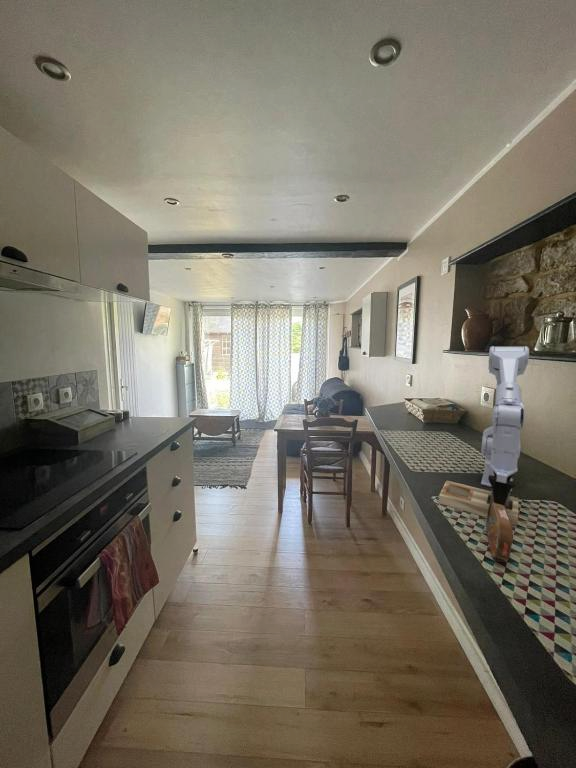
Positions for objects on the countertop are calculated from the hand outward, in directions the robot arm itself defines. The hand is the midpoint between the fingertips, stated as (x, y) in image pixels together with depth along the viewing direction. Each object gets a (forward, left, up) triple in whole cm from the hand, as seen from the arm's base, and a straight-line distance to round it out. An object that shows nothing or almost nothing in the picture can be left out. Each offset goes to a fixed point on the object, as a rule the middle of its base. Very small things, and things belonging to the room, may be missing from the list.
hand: (500, 497), depth 82 cm
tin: (+17, 0, -4) cm, 17 cm away
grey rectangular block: (0, 0, -4) cm, 4 cm away
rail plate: (0, -5, -4) cm, 6 cm away
